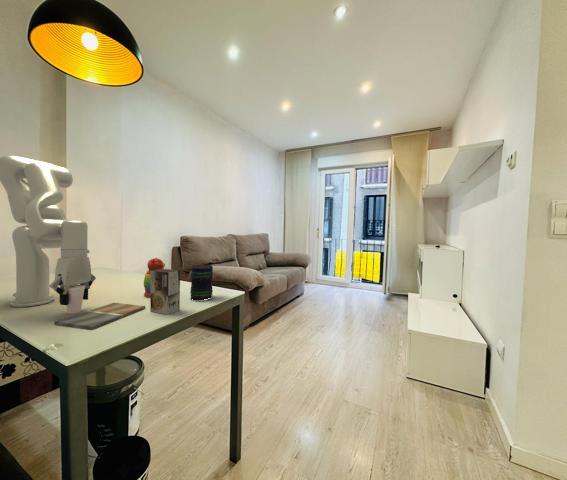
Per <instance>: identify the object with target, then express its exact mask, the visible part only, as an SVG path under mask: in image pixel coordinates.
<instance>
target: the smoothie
mask: <svg viewBox="0 0 567 480" xmlns="http://www.w3.org/2000/svg"><path fill="white" fill-rule="evenodd" d="M64 288H65V287H64ZM84 289H85V285H80V284H77V285H72V286H70V287H69V289H68V292H67V294H69V304H68V305H66V310H67V314H70V315H72V314H73V315H75V314H80V313H82V306H83V295H84ZM63 290H64V289H63Z"/></svg>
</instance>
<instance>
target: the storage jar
mask: <svg viewBox="0 0 567 480" xmlns="http://www.w3.org/2000/svg"><path fill="white" fill-rule="evenodd" d="M213 268H214V266H213V265H207V264H199V265H192V266H190V280H191V281H190V286H191V287H190V292H189V293H190V300H191V299H193V300H204V299H208V298H211V297H212V298H213V278H214V277H213V275H214V271H213V270H214V269H213Z"/></svg>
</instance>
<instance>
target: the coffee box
mask: <svg viewBox="0 0 567 480" xmlns="http://www.w3.org/2000/svg"><path fill="white" fill-rule="evenodd" d="M180 296H181V269H173V268H162V269H157V270H152V271H150V298H149V299H150V302H149V303H150V309H149V310H150V312H151V313H158V314H163V315H171V314H173V313H176V312H179V311H180V302H181V301H180V300H181V297H180ZM178 310H179V311H178Z"/></svg>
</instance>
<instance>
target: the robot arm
mask: <svg viewBox="0 0 567 480" xmlns="http://www.w3.org/2000/svg"><path fill="white" fill-rule="evenodd" d="M73 180H74V178H73V175H72V173H71V171H70V170H69V169H68V168H66V167H62V166H59V165H58V164H54V163H51V162H47V161H42V160H37V159H32V158H29V157H24V156H19V155H12V154H11V155H10V154H9V155H8V154H7V155H2V156H0V184H2V187H3V188H4V190H5V192H6V194H7V199H8V204H9V207H10V212H11V214H12V218H13V220H14V221H15V222H17V223H19V224H24V225H21V226H18V227H16V228H15V229H14V230H13V231H12V233H11V235H12V236H11V239H12V243H13V247H14V252H15V253H14V254H15V270H16V271H15V273H16V275H15V276H16V277H15V279H16V280H15V281H16V284H15V285H16V287H15V290H16V291H15V293H13V294H12V297H15V300H13V301H11V302H10V306H11V307H15V308H24V307H25V308H26V307H34V306H40V305H45V304H49V303H52V302H53V301H55V296H53V295H50V288H51V289H52V290H53V291H54V292H56V293H57V295H59V296H58V297H59V305H61V306H67V305H68V304H69V294H67V292H68V289H69V287H70V286H72V285H85V289H84V295H83V300H84V301H86V300H89V290H90V289H91V286H92V284H93V283H94V282H95V280H96V278H97V277H96V276H95V275H94V274H92V269H91V268H92V267H91V266H92V265H91V261H90V257H89V256H88V254H89V253H90V250H89V249H88V234H89V233H88V230H89V229H88V223H87V222H86V221H83V220H74V219H73V220H71V219H70V220H69V219H67V218H66V214H65V212H64V209H63V208H62V206H60V205H59V203H61V202H62V201H63V199H64V194H63V192H62V189H61V188H69V187H71V186H72V184H73V182H74V181H73ZM59 248H60V258H57V262H56V265H55V271H54V272H55V273H54V280H53V281H51V283H50V259H49V256H48V255H47V254H46V253H45V252H44V250H43V249H59ZM64 287H65V288H64ZM63 289H64V290H63Z"/></svg>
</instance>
